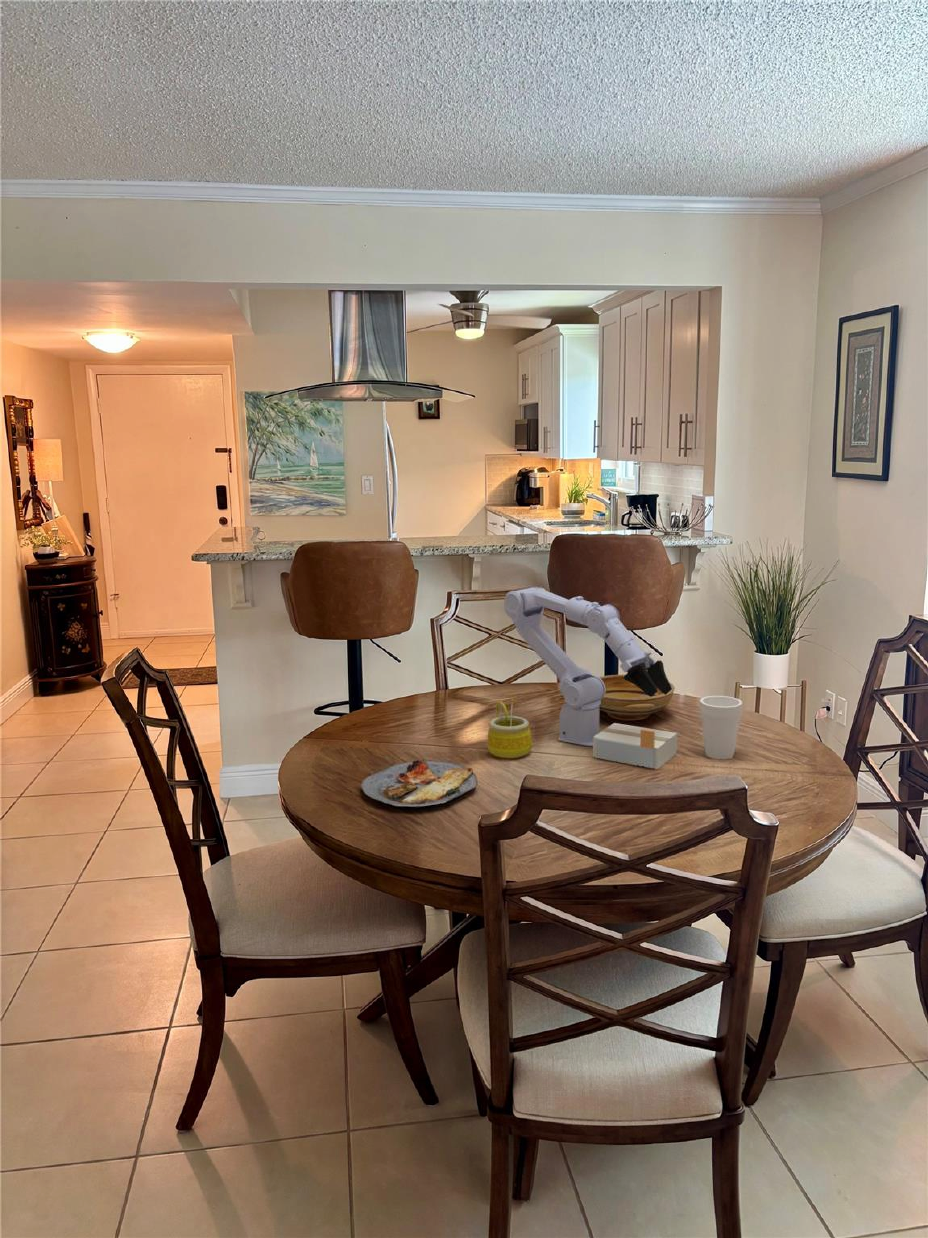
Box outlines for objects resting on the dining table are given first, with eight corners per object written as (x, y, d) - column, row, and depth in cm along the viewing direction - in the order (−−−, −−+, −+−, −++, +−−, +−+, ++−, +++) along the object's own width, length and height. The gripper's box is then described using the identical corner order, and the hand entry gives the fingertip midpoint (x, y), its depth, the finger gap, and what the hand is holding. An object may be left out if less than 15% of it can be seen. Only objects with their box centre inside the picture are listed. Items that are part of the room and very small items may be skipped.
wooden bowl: (574, 700, 254) (573, 673, 253) (657, 696, 256) (657, 670, 254) (596, 733, 225) (596, 703, 224) (689, 729, 227) (690, 699, 225)
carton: (593, 757, 209) (593, 736, 208) (614, 742, 218) (614, 722, 217) (657, 769, 200) (657, 747, 199) (676, 753, 210) (676, 732, 209)
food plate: (419, 761, 209) (419, 747, 208) (498, 783, 195) (497, 768, 194) (342, 798, 190) (340, 782, 190) (422, 826, 176) (421, 809, 175)
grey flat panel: (595, 757, 207) (595, 722, 205) (597, 756, 208) (597, 721, 206) (652, 768, 199) (653, 732, 198) (654, 767, 200) (654, 731, 198)
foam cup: (740, 749, 211) (741, 697, 209) (741, 763, 202) (742, 708, 200) (698, 746, 214) (700, 695, 211) (698, 760, 205) (699, 706, 202)
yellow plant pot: (529, 762, 207) (529, 713, 205) (483, 760, 209) (482, 711, 207) (536, 743, 219) (535, 697, 217) (492, 742, 221) (491, 696, 219)
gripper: (622, 636, 199) (660, 683, 194) (650, 635, 211) (686, 680, 205) (601, 657, 202) (638, 703, 197) (630, 655, 214) (665, 699, 208)
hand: (661, 692), depth 201 cm, fingers open, 7 cm apart
